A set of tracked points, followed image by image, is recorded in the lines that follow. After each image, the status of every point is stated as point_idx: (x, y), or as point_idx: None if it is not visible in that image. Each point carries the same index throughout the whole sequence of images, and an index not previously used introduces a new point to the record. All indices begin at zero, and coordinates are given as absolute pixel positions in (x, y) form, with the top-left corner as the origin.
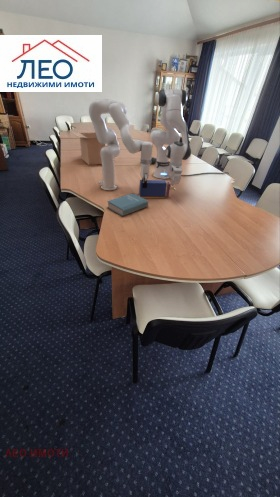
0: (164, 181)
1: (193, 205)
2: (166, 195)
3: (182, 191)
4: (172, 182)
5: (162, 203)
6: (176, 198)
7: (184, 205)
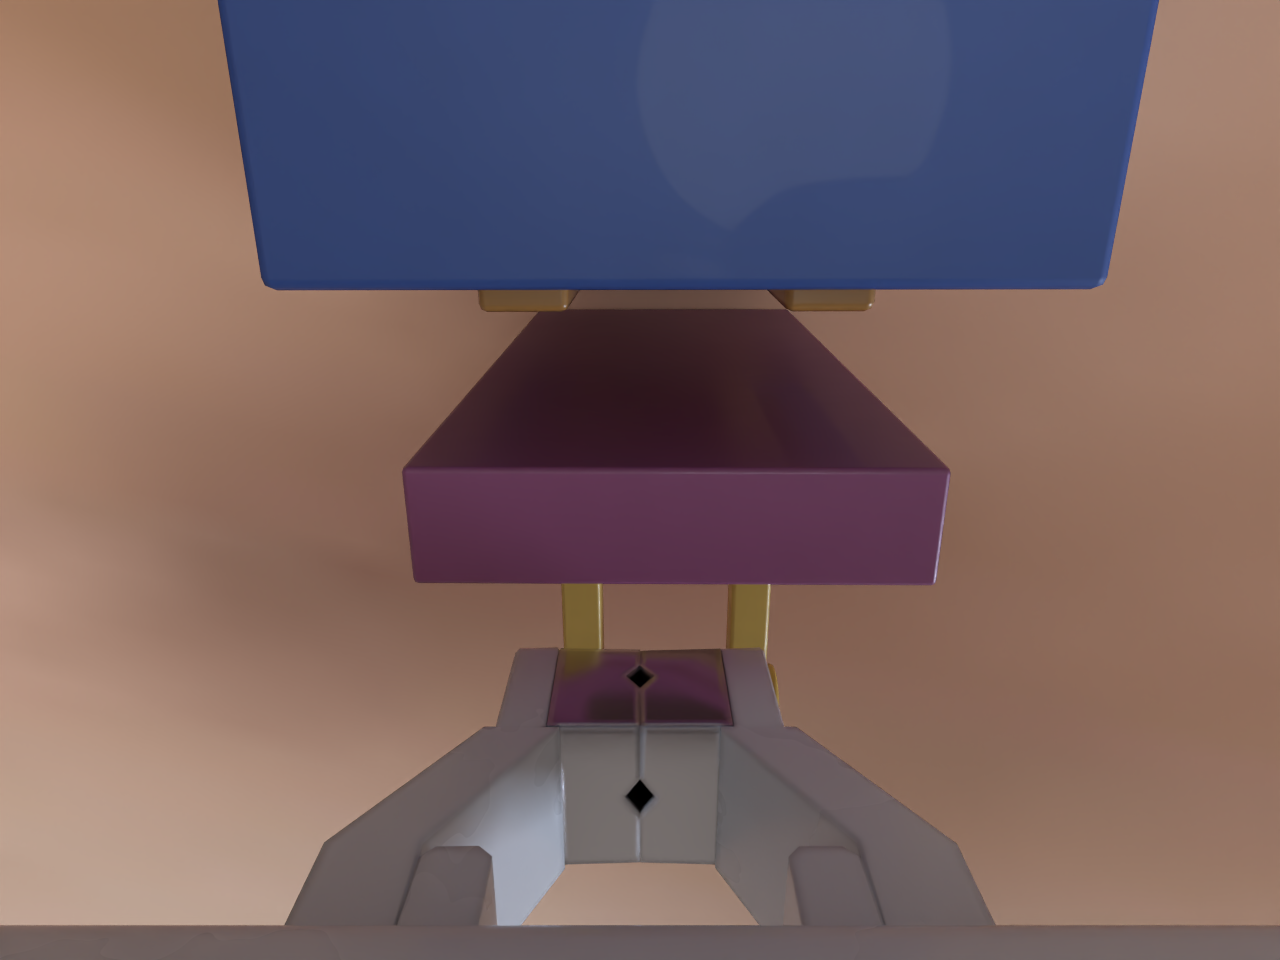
0: (807, 141)
1: (122, 910)
2: (641, 310)
3: (1048, 889)
4: (372, 814)
5: (20, 18)
6: (525, 610)
7: (60, 709)
